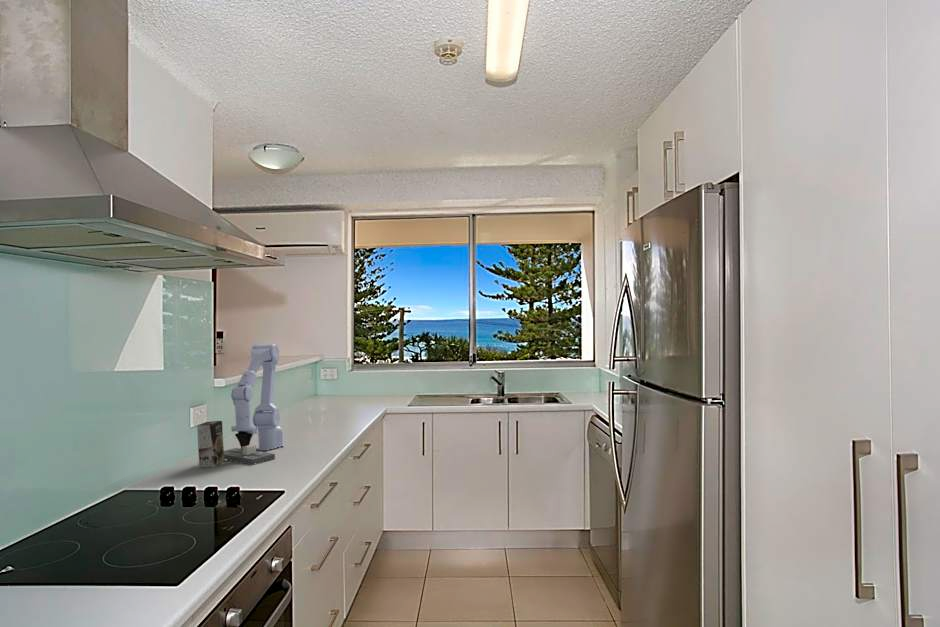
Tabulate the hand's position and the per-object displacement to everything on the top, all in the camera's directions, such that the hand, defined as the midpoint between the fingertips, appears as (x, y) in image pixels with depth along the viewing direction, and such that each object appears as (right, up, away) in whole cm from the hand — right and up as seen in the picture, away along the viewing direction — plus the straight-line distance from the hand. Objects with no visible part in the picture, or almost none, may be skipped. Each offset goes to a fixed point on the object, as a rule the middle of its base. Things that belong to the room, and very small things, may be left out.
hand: (245, 450), depth 257 cm
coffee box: (-10, -4, -7) cm, 13 cm away
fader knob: (+2, -1, -2) cm, 3 cm away
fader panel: (-1, -3, +1) cm, 3 cm away
